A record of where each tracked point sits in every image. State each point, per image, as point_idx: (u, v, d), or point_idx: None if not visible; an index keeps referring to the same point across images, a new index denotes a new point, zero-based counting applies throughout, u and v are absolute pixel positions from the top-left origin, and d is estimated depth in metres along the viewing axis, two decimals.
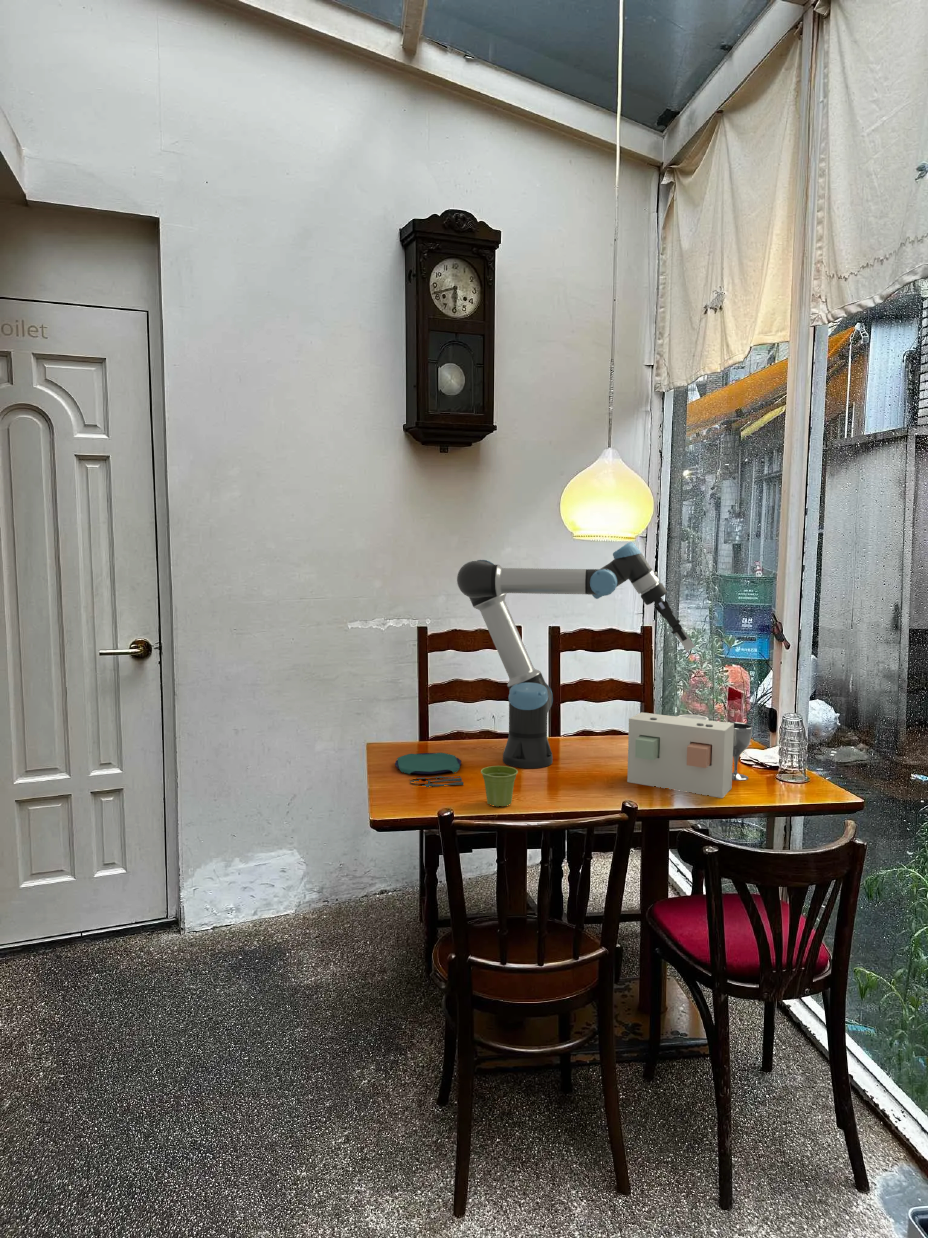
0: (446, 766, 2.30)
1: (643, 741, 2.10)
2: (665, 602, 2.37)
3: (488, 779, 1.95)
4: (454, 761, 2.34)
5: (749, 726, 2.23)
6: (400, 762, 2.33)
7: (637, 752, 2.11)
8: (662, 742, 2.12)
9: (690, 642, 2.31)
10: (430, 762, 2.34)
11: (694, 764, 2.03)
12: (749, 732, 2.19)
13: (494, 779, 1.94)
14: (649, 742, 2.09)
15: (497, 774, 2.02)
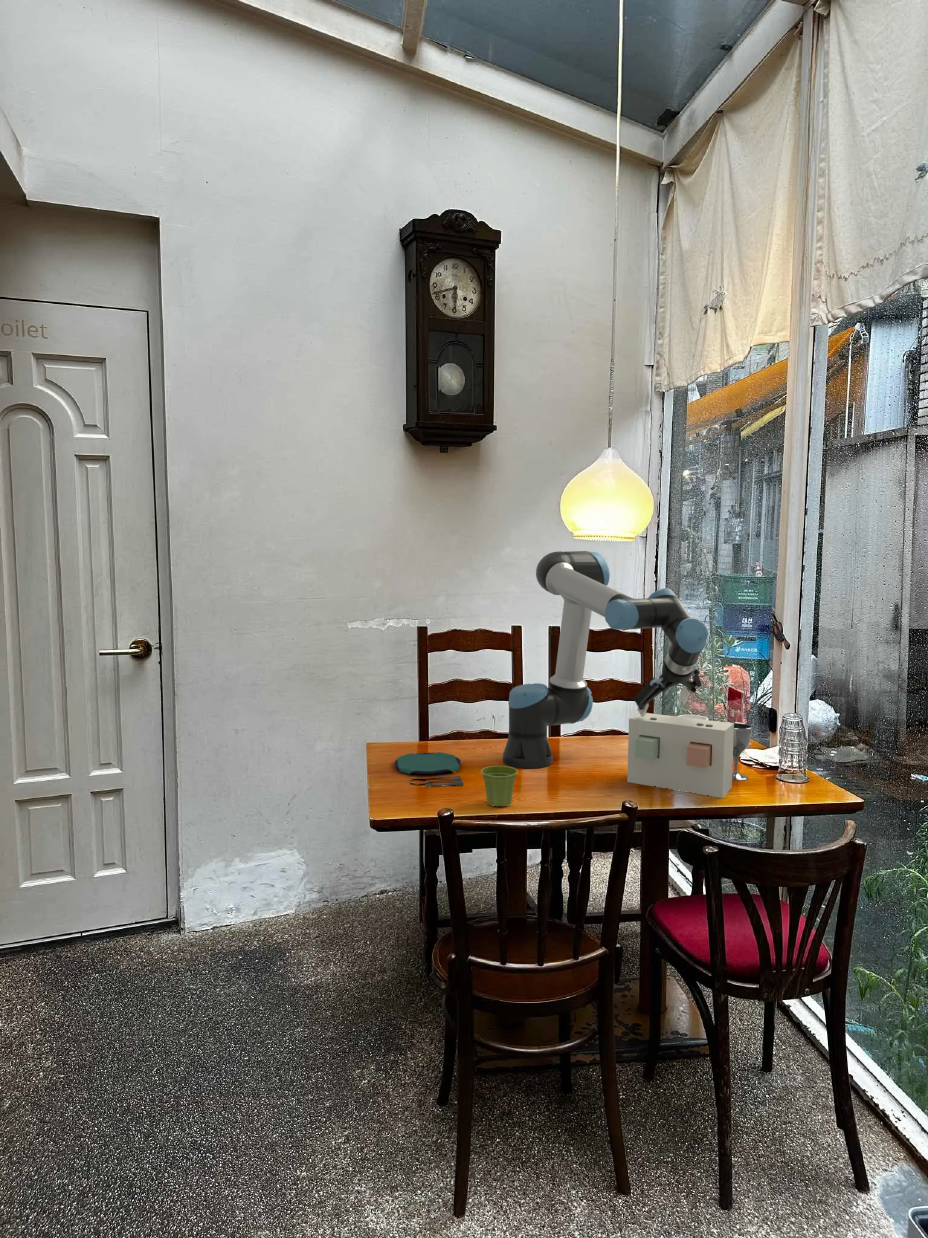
0: (446, 766, 2.30)
1: (643, 741, 2.10)
2: (671, 682, 2.05)
3: (488, 779, 1.95)
4: (454, 761, 2.34)
5: (749, 726, 2.23)
6: (400, 762, 2.33)
7: (637, 752, 2.11)
8: (662, 742, 2.12)
9: (642, 713, 2.16)
10: (430, 762, 2.34)
11: (694, 764, 2.03)
12: (749, 732, 2.19)
13: (494, 779, 1.94)
14: (649, 742, 2.09)
15: (497, 774, 2.02)
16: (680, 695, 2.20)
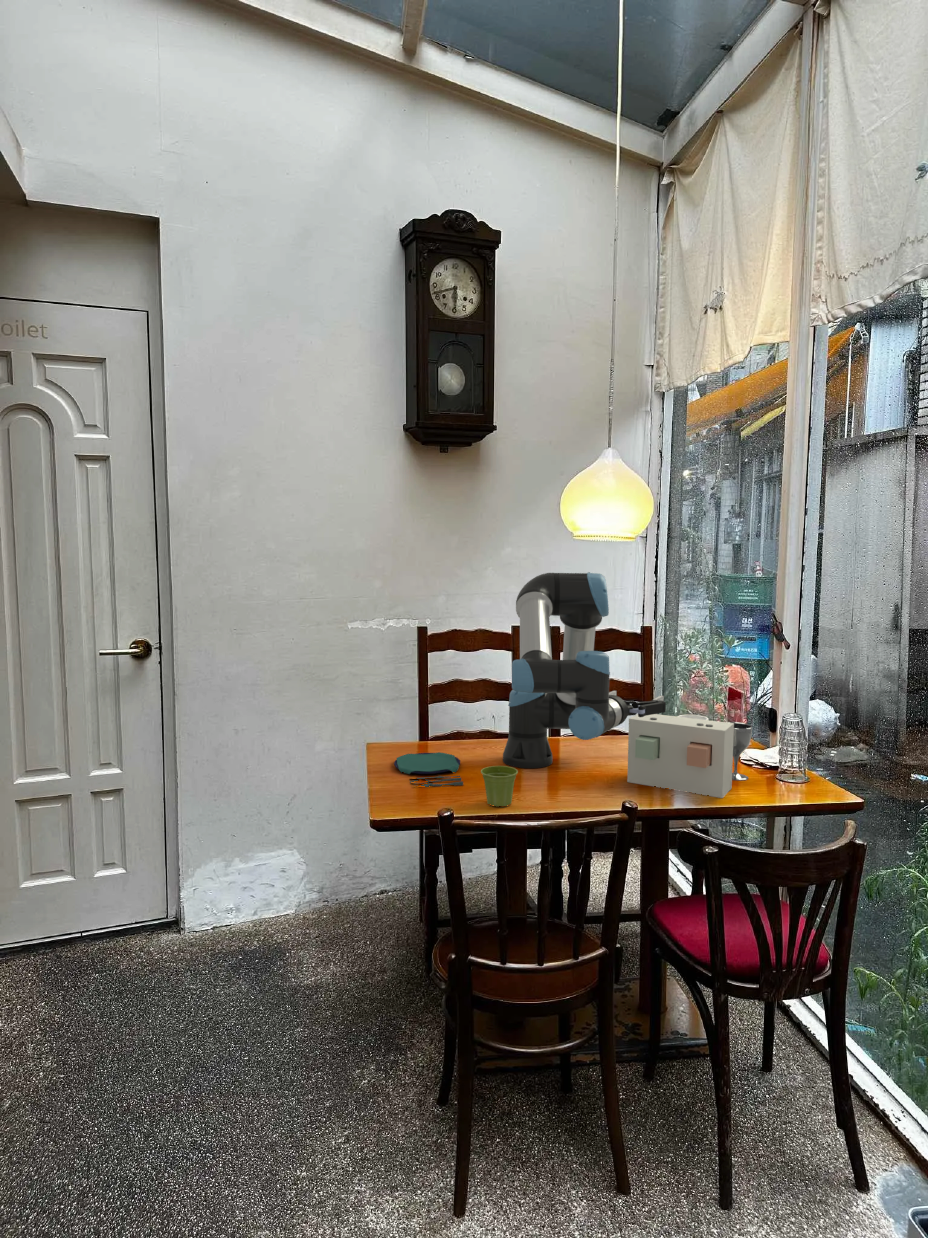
0: (445, 766, 2.30)
1: (643, 741, 2.10)
2: None
3: (488, 779, 1.95)
4: (453, 761, 2.34)
5: (749, 726, 2.23)
6: (399, 762, 2.33)
7: (637, 752, 2.11)
8: (662, 742, 2.12)
9: None
10: (429, 762, 2.34)
11: (694, 764, 2.03)
12: (749, 732, 2.19)
13: (494, 779, 1.94)
14: (649, 742, 2.09)
15: (497, 774, 2.02)
16: None
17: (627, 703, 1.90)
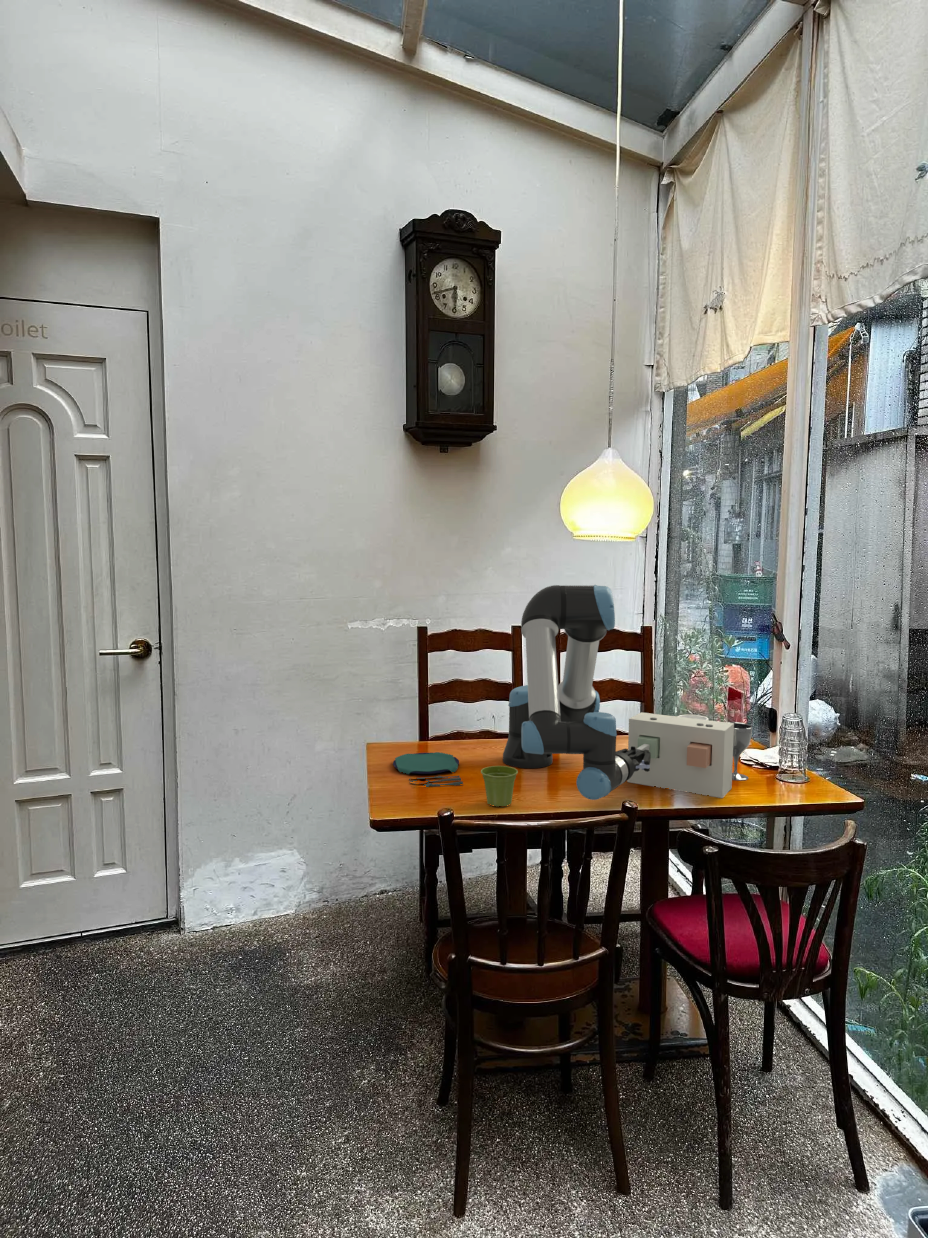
0: (444, 766, 2.30)
1: (645, 740, 2.12)
2: None
3: (488, 779, 1.95)
4: (452, 761, 2.34)
5: (749, 726, 2.23)
6: (398, 762, 2.33)
7: None
8: (662, 742, 2.12)
9: None
10: (428, 762, 2.34)
11: (694, 764, 2.03)
12: (749, 732, 2.19)
13: (494, 779, 1.94)
14: (651, 741, 2.11)
15: (497, 774, 2.02)
16: None
17: (632, 758, 1.97)
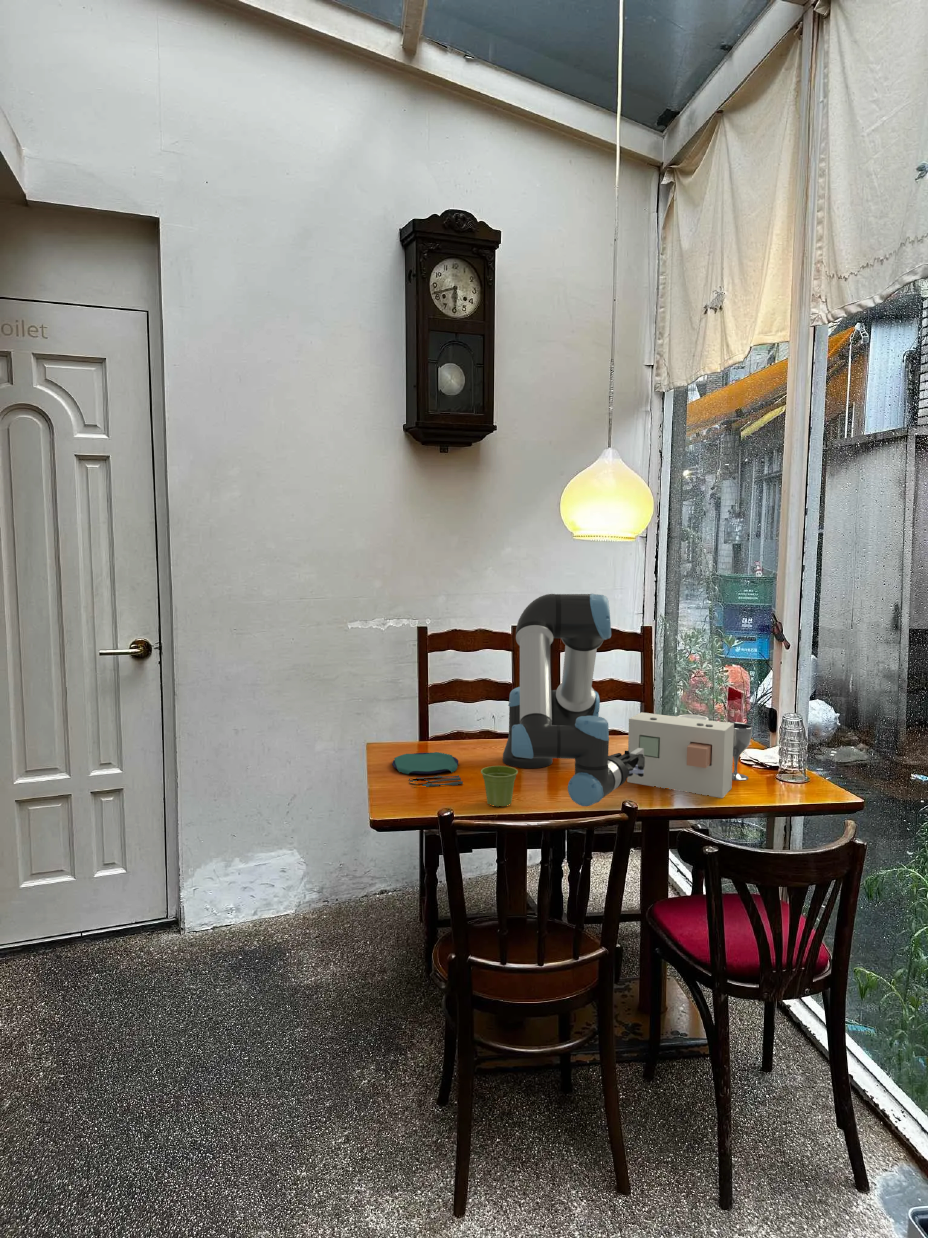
0: (444, 766, 2.30)
1: (647, 738, 2.13)
2: None
3: (488, 779, 1.95)
4: (451, 760, 2.34)
5: (749, 726, 2.23)
6: (397, 762, 2.33)
7: None
8: (662, 742, 2.12)
9: None
10: (427, 762, 2.34)
11: (694, 764, 2.03)
12: (749, 732, 2.19)
13: (494, 779, 1.94)
14: (653, 739, 2.12)
15: (497, 774, 2.02)
16: None
17: (626, 763, 1.91)
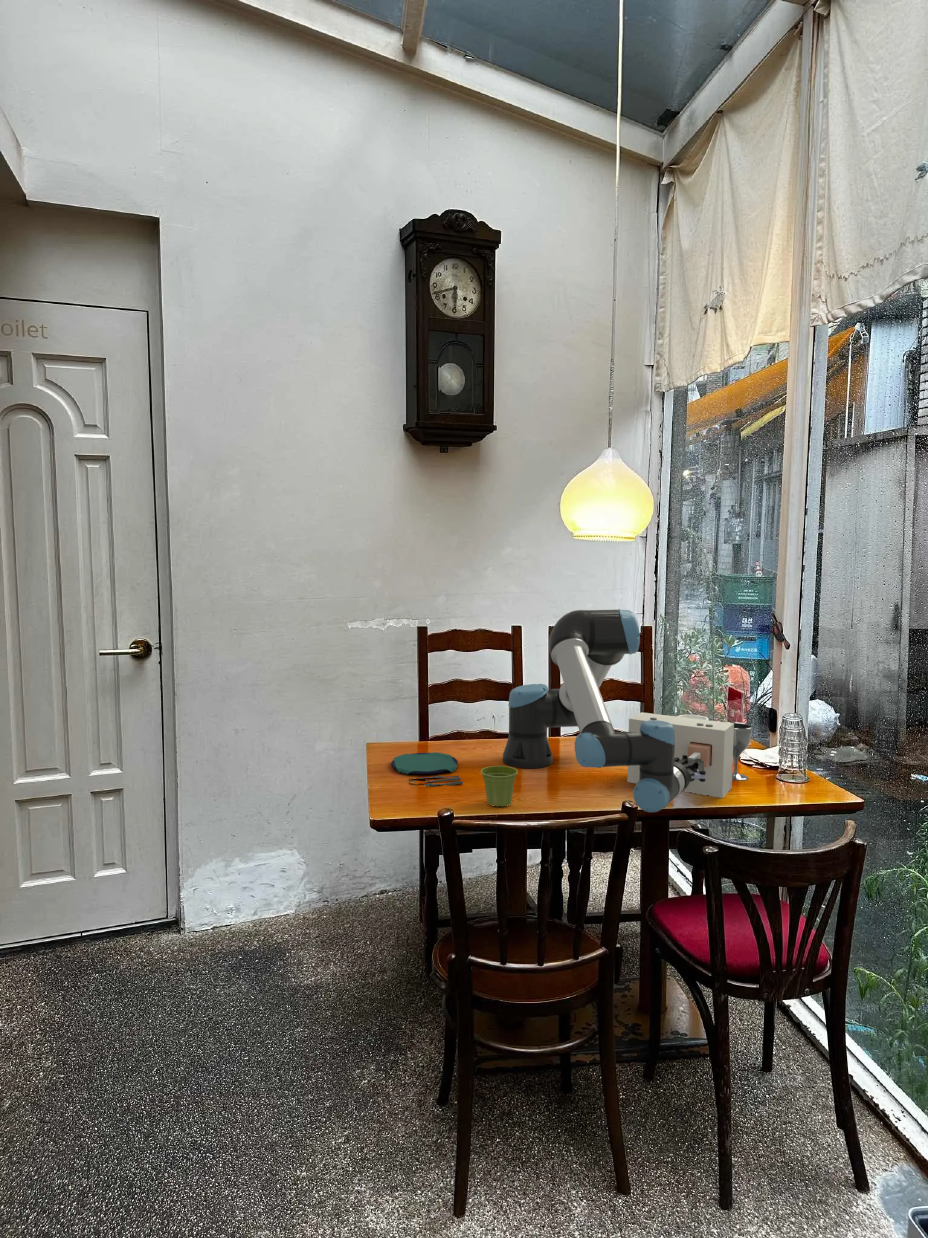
0: (443, 766, 2.30)
1: None
2: None
3: (488, 779, 1.95)
4: (450, 760, 2.34)
5: (749, 726, 2.23)
6: (396, 762, 2.32)
7: None
8: None
9: None
10: (426, 762, 2.34)
11: None
12: (749, 732, 2.19)
13: (494, 779, 1.94)
14: None
15: (497, 774, 2.02)
16: None
17: (687, 768, 1.89)
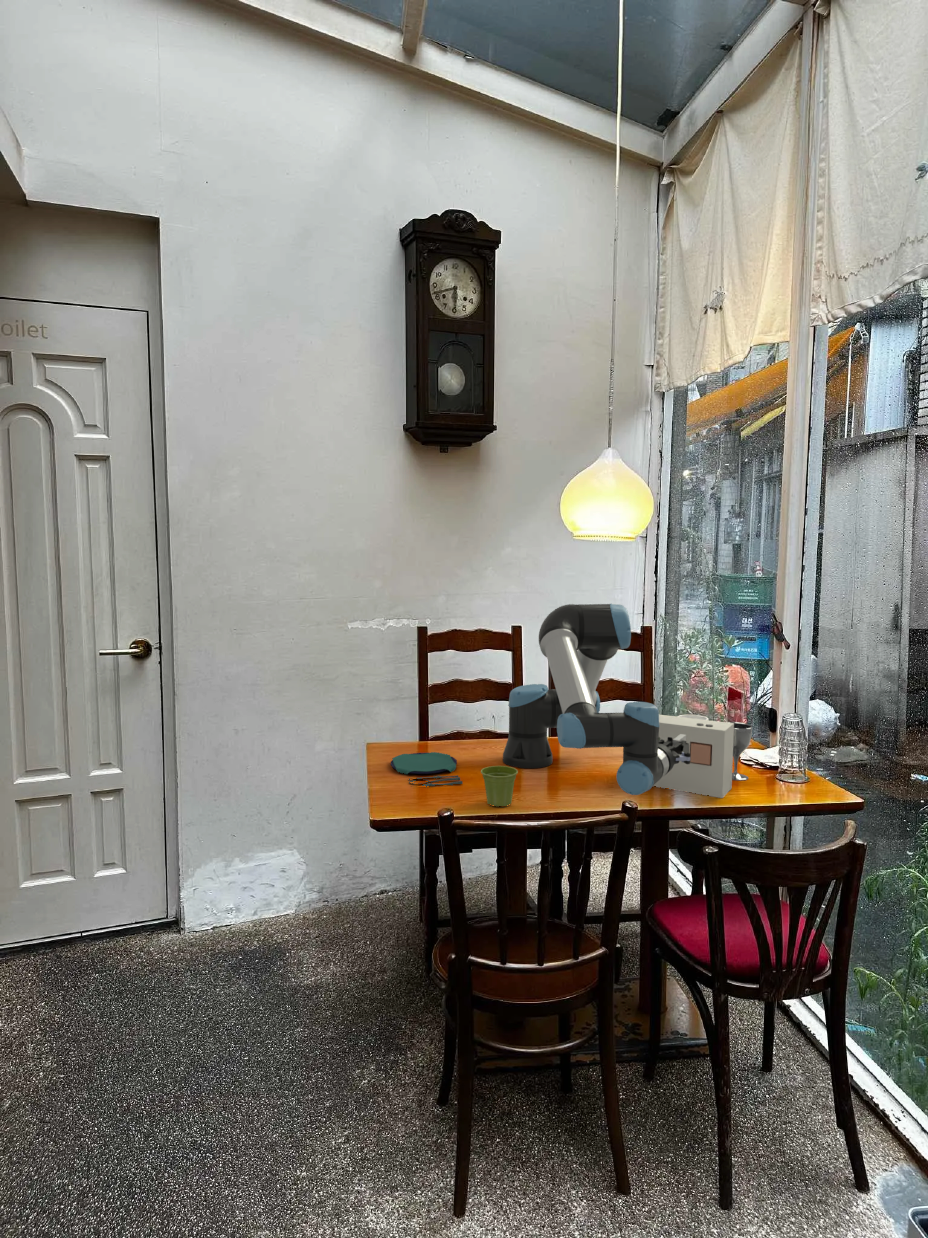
0: (442, 765, 2.30)
1: None
2: None
3: (488, 779, 1.95)
4: (449, 760, 2.34)
5: (749, 726, 2.23)
6: (395, 762, 2.32)
7: None
8: None
9: None
10: (425, 762, 2.34)
11: (697, 761, 2.06)
12: (749, 732, 2.19)
13: (494, 779, 1.94)
14: None
15: (497, 774, 2.02)
16: None
17: (671, 750, 1.86)
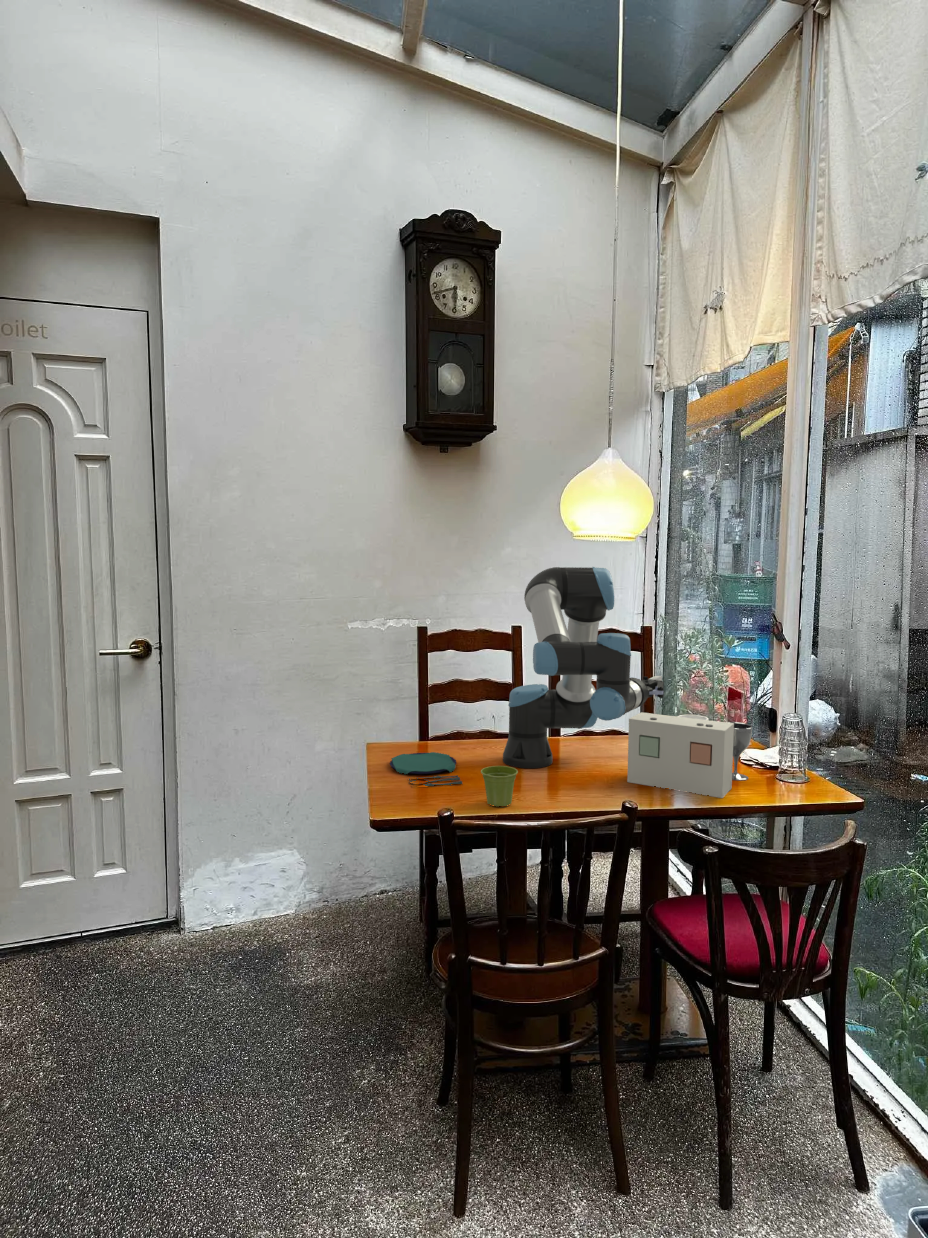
0: (441, 765, 2.30)
1: (647, 738, 2.13)
2: None
3: (488, 779, 1.95)
4: (449, 760, 2.35)
5: (749, 726, 2.23)
6: (395, 762, 2.32)
7: (641, 749, 2.14)
8: (662, 742, 2.12)
9: None
10: (425, 762, 2.34)
11: (697, 761, 2.06)
12: (749, 732, 2.19)
13: (494, 779, 1.94)
14: (653, 739, 2.12)
15: (497, 774, 2.02)
16: None
17: (645, 685, 1.93)
